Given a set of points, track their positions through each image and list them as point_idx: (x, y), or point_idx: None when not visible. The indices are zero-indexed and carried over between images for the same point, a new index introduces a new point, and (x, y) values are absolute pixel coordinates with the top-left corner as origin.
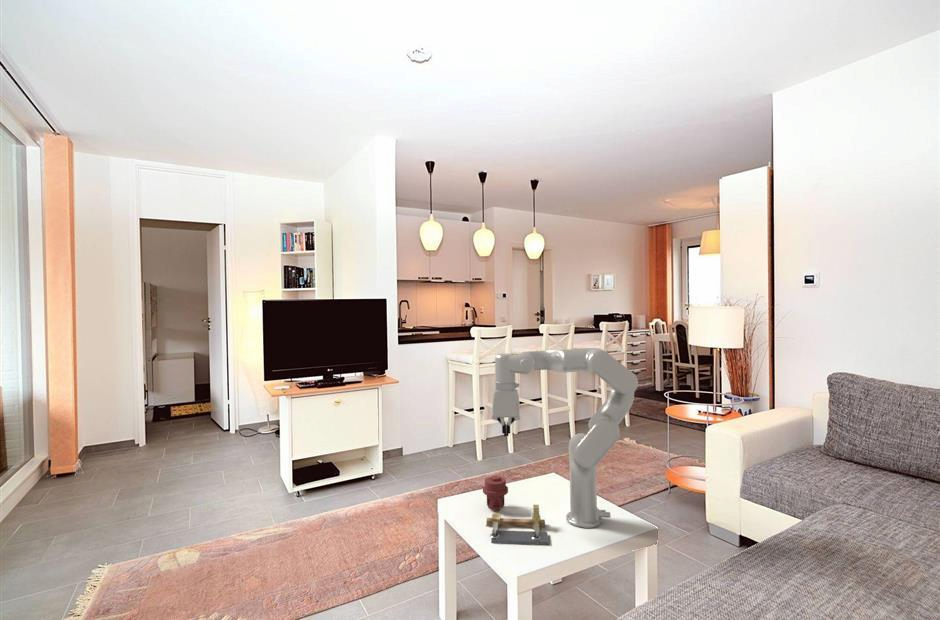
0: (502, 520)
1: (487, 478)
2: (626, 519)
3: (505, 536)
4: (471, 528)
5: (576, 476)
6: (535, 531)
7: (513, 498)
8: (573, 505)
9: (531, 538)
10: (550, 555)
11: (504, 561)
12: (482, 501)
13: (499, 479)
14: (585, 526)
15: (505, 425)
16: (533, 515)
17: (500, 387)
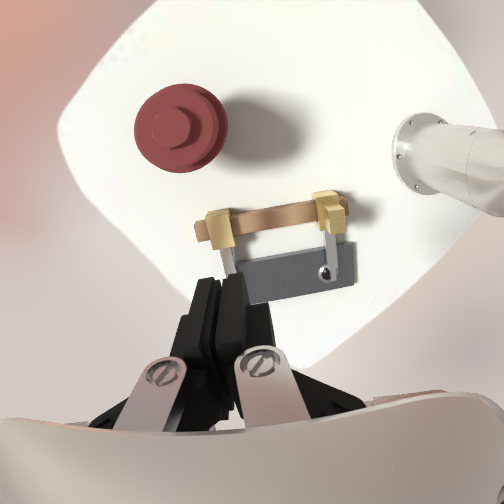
0: (238, 230)
1: (141, 124)
2: None
3: (260, 287)
4: (169, 256)
5: (487, 211)
6: (329, 269)
7: (229, 46)
8: (428, 180)
9: (318, 280)
10: (353, 313)
11: None
12: (143, 95)
13: (190, 129)
14: (428, 194)
15: (222, 399)
16: (324, 220)
17: None
